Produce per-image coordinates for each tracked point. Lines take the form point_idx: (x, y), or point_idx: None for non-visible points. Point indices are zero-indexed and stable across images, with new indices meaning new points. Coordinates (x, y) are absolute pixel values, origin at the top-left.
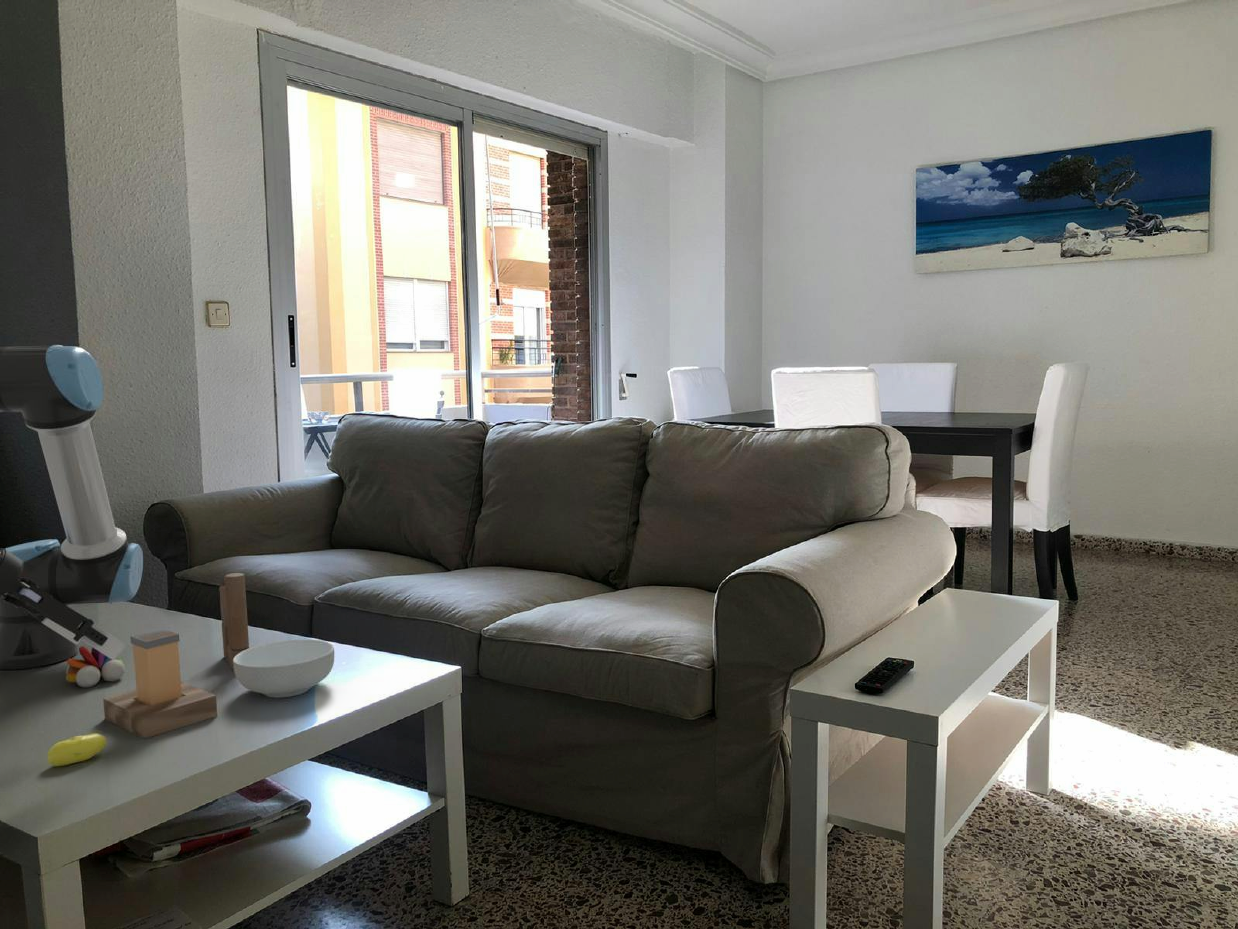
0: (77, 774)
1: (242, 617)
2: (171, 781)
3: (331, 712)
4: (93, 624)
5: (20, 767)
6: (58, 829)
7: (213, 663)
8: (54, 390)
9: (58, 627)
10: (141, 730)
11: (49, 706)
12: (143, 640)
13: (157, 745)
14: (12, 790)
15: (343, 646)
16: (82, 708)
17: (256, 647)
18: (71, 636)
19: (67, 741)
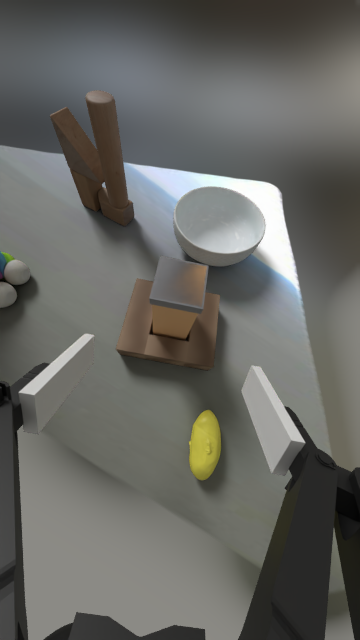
0: (236, 464)
1: (123, 168)
2: (322, 422)
3: (283, 266)
4: (300, 436)
5: (162, 491)
6: None
7: (89, 219)
8: None
9: (63, 392)
10: (205, 368)
11: (16, 357)
12: (192, 305)
13: (233, 374)
14: (219, 538)
15: (164, 168)
16: (64, 345)
17: (176, 211)
18: (84, 369)
19: (210, 459)
